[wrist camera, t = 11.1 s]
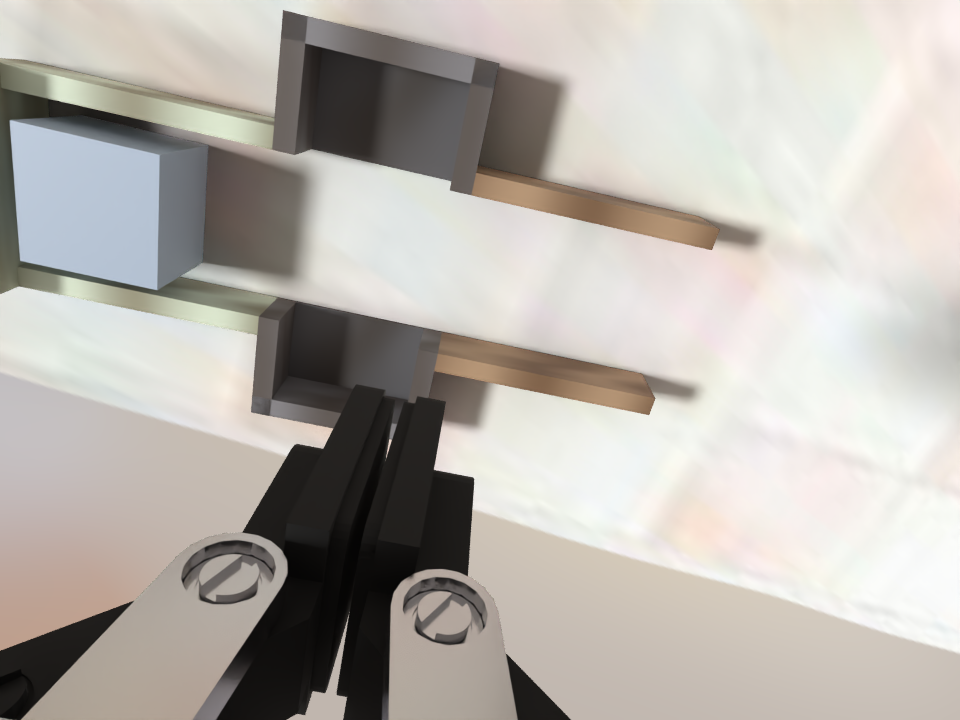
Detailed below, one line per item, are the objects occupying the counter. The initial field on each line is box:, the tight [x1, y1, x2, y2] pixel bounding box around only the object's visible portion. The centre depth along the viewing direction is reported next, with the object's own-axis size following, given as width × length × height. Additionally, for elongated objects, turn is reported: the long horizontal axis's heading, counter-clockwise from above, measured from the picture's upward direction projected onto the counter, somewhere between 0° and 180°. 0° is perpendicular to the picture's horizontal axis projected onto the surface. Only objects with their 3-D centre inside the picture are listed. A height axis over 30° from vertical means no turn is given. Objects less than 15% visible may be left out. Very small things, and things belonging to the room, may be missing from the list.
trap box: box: [0, 10, 720, 440], centre depth 29 cm, size 33×19×5 cm, turn 77°
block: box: [10, 115, 208, 290], centre depth 29 cm, size 6×6×5 cm
